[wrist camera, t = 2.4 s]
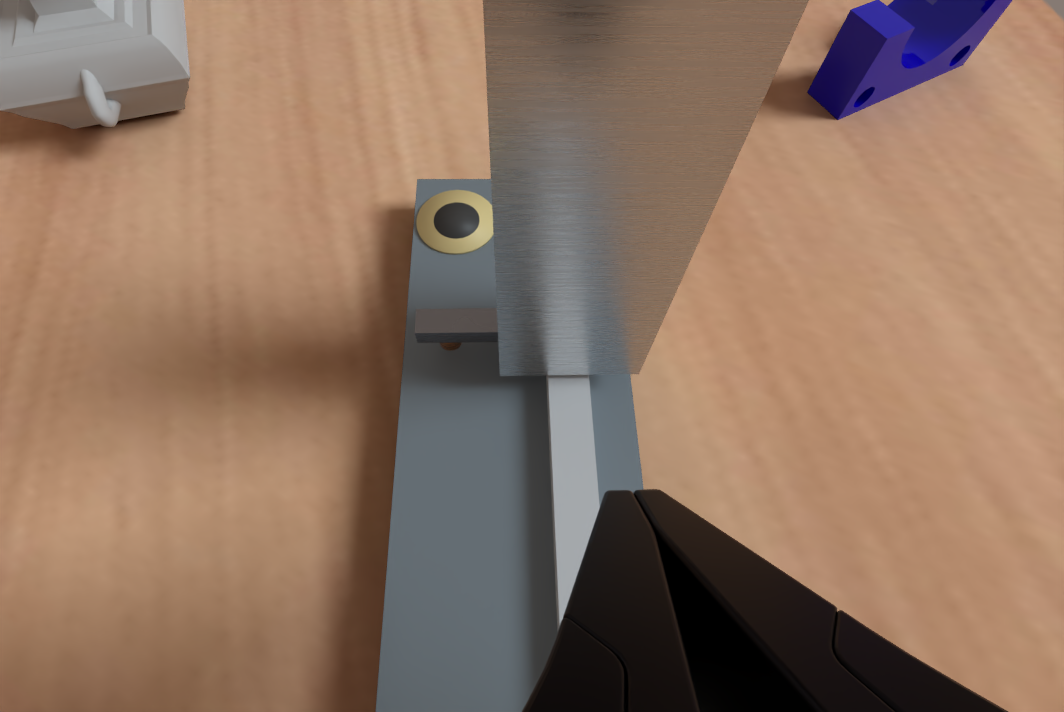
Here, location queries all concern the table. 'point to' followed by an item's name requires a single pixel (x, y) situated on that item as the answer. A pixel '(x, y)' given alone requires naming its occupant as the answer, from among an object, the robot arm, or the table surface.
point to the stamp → (92, 59)
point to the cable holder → (899, 49)
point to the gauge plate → (486, 485)
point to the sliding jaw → (607, 167)
